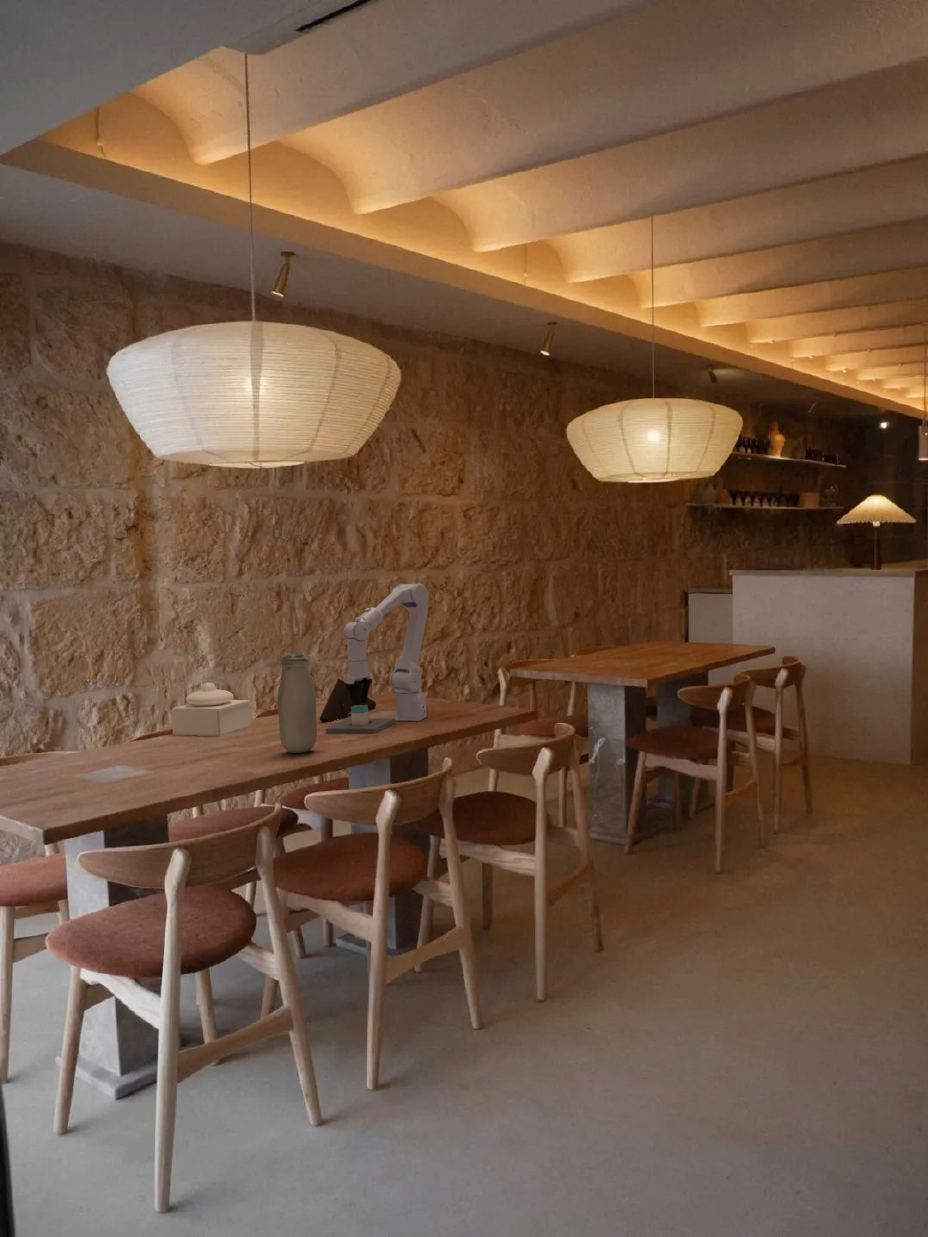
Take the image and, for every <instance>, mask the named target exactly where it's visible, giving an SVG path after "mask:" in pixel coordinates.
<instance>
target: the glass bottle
mask: <svg viewBox="0 0 928 1237" xmlns="http://www.w3.org/2000/svg"><path fill="white" fill-rule="evenodd" d="M277 710H278V724H279V725H278V726H279V738H280V743H281V745H282V747H283V749H285V750H286V751H287V752H289V753H293V754H302V753H307V752H309V751H311V750H312V749H313V748H314V747H315V744H316V742H317V737H318V727H317V726H318V725H317V724H318V723H317V696H316V692H315V687H314V684H313V681H312V677H311V674H310V660H309V658H308V656H307V654H305V652H302V651H292V652H288V653H286V654H285V655H283V657H282V659H281V676H280V682H279V686H278V692H277Z"/></svg>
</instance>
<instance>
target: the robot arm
mask: <svg viewBox="0 0 928 1237" xmlns="http://www.w3.org/2000/svg"><path fill="white" fill-rule="evenodd" d="M429 595H430V593H429V591H428V589H427V588H426V586H425V585H424V584H422V583H421V582H420V583H400V584H398V585H397V586H395V587H394V588H393V589H392V592H390V594H388V595H387V596H386V597H385V598H384V599H383V600H382V601H381V602H380V603H379V604H378V605H377V606H376V607H373V606H372V607H367V608H365V609H364V612H363V613H362V614H361V615H359V616H357V617H355V618H354V621H351V622H348V623H346V624H345V626H344V628H343V631H342V635H343V637H344V639H345V641H346V645H347V660H348V662H347V663H348V674H345V678H346V682H345V686H346V688H347V689H348V691H349V694H350V696H351V700H352V703H353V706H359V705H360V703H366V702H367V697H368V698H369V690H370V687H371V684H372V682H373V678H371V676H370V674H371V673H370V671H368V659H367V658H368V657H367V643H366V642H367V641H366V640H367V639H369V636H370V633H371V631H373V630H374V629H375V628H376V627H377V626H378V625H380V624H381V623H382V622H383V620H384V616H385V615H386V614H387V613H389V612H390V611H392V610H393V609H394V608H396V607H397V606H398V605H400V604H401V605H402V606H403V608H405V609H406V610H407V612H408V613H409V619H408V620H409V621H408V624H407V629H406V634H405V640H404V643H403V648H402V654H401V658H400V661H399V662H398V663H397V664H396V665H394V670H393V671H392V673H391V674H390V676H389V684H390V686H391V688H392V689H393V692H394V694H395V695H394V696H395V711H396V717H394V718H395V722H396V721H404V722H405V721H412V722H413V721H415V722H416V721H418V722H419V721H423V720H424V719H425V718H427V717H428V715H427V702H426V701H427V699H426V694H425V693H424V692H423V691H420V688H421V687H422V683H423V680H422V672H423V671H422V668H421V667H420V666H419V664H418V662H419V658H420V653H421V647H422V642H423V638H424V633H425V627H426V623H427V619H428V613H429V609H428V599H429Z"/></svg>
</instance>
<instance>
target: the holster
mask: <svg viewBox="0 0 928 1237" xmlns="http://www.w3.org/2000/svg"><path fill="white" fill-rule="evenodd" d="M345 683H346V682H345V681H343V679H340V678H337V680H336V683H334V684H335V685H334V687H333V688H332V691H331V693H330V696H329V697H328V699H327V702H326V704H325V706H324V708H323V710H322V712H321V714H320V717H319V720H320V721H321V722H325V721H324V720H326V721H328V722H335V721H338V720H337V719H339V720H341V719H340V718H342V719H343V718H346V717H347V716H348V714H351V707H352V706H353V703H352V700H351V696H350V694H349V691H348V689H347V688H346V686H345ZM360 705H368V710H370V711H371V709H372V710H375V709H376V706H377V701H375V700H373V699H371V698H369V696H368V697H367V702H366V703H360ZM334 720H335V721H334Z"/></svg>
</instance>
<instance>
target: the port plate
mask: <svg viewBox="0 0 928 1237" xmlns="http://www.w3.org/2000/svg"><path fill="white" fill-rule="evenodd" d="M395 718H396V717H392V718H389V717H388V718H386V717H384V718H383V717H382V718H381V717H380V718H379V717H375V718H374V717H372V718H371V717H370V718H369V717H368V721H369V724H368V725H352V717H351V718H346V719H344V720H341V721H339V722H336V723H335V724H333V725H331V726H329V727H326V728H325V733H326V734H373V735H374V734H377V733H380V732H381V731H383V730H385V729H387V728H388V727H390V726H392V725H394V724H395V723H396V721H395ZM393 723H394V724H393Z"/></svg>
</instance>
